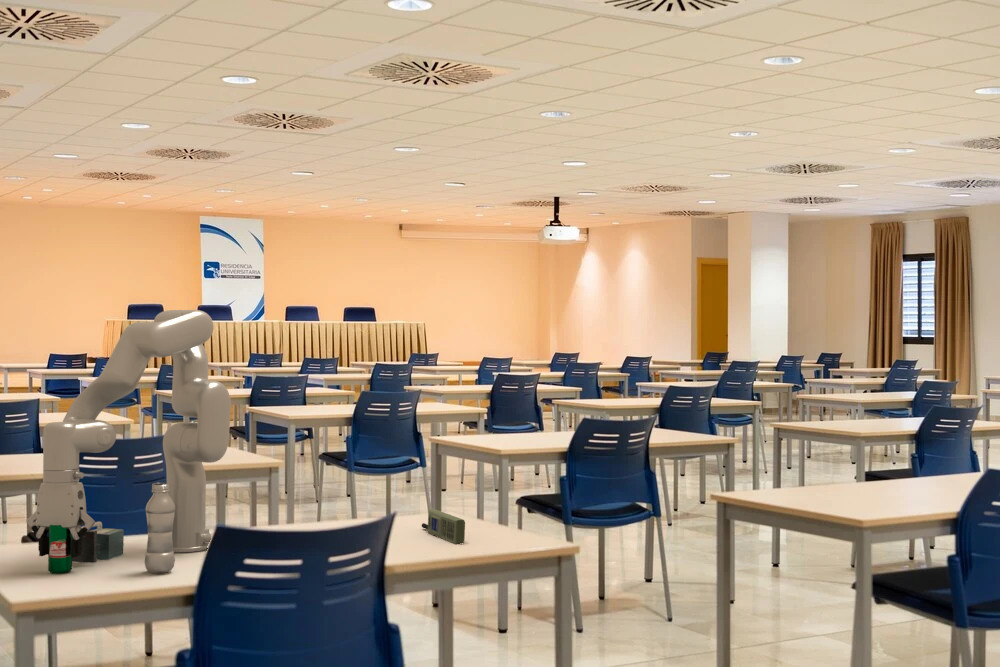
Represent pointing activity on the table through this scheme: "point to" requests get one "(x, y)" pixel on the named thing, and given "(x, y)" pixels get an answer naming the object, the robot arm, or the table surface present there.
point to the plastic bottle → (160, 530)
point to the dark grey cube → (110, 543)
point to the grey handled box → (89, 546)
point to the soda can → (59, 549)
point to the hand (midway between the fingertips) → (60, 555)
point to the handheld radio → (445, 526)
